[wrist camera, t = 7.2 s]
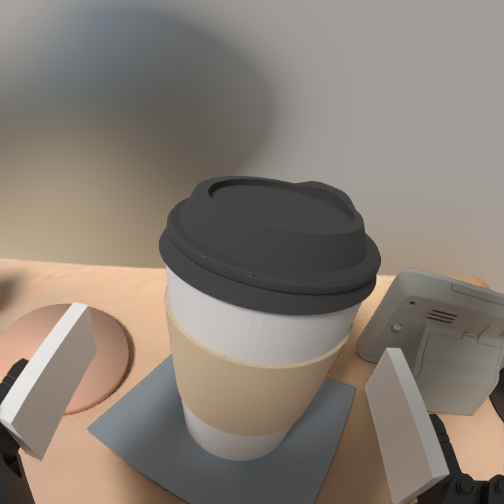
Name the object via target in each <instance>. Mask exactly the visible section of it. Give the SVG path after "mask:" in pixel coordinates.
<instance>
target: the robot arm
mask: <svg viewBox="0 0 504 504" xmlns="http://www.w3.org/2000/svg"><path fill="white" fill-rule="evenodd" d="M97 351H98V349H97V345H96V341H95V336H94V332H93V327H92V322H91V317H90V312H89V306H88V305H85V304H81V303H77V302H74V303H73V304H72V305H71V306H70V307H69V309H68V310H67V311H66V313H65V314H64V315H63V316H62V318H61V319H60V320H59V322H58V323H57V324H56V325H55V327H54V328H53V329H52V331H51V332H50V333H49V335H48V336H47V337H46V339H45V340H44V341H43V343H42V344H41V346H40V347H39V348H38V350H37V351H36V352H35V354H34V355H33V357H32V358H31V360H30V361H29V360H27V359H24V358H22V359H20V360H19V361H18V362H16V363H15V364H13V366H12V367H11V368H10V370H9V371H8V373H7V376H5V377H4V378H3V380H2V383H0V504H35V502H34V499H33V496H32V493H31V490H30V487H29V484H28V481H27V478H26V475H25V472H24V468H23V465H22V461H21V457H20V455H19V453H18V450H19V448H20V447H21V448H22V449H23V450H24V451H25V453H27V454H28V455H30V456H32V457H34V458H36V459H38V460H40V461H42V459H43V457H44V454H45V452H46V450H47V448H48V446H49V443H50V441H51V439H52V437H53V435H54V433H55V431H56V429H57V427H58V424H59V422H60V420H61V418H62V416H63V414H64V412H65V410H66V408H67V406H68V404H69V402H70V400H71V398H72V397H73V395H74V393H75V391H76V389H77V387H78V385H79V383H80V381H81V380H82V378H83V376H84V374H85V372H86V370H87V368H88V367H89V365H90V363H91V361H92V359H93V358H94V356H95V354H96V352H97ZM364 389H365V392H366V396H367V399H368V403H369V407H370V411H371V414H372V418H373V422H374V426H375V430H376V434H377V438H378V442H379V446H380V450H381V455H382V459H383V463H384V468H385V472H386V477H387V481H388V486H389V491H390V496H391V501H392V504H405V503H409V502H410V501H412V500H413V499H415V498H417V500H418V502H417V503H416V504H504V476H503V475H501V474H500V475H496V476H494V477H493V478H491V479H490V480H489V481H475V480H473V479H472V477H471V476H469V475H468V474H464V473H462V472H461V470H460V467H459V464H458V462H457V459H456V456H455V453H454V450H453V448H452V445H451V442H449V441H450V440H449V437H448V434H446V433H447V432H446V429H445V427H444V424H443V422H442V421H441V420H440V418H439V417H438V416H437V415H436V414H428V412H427V409H426V407H425V404H424V402H423V399H422V397H421V394H420V392H419V389H418V387H417V385H416V382H415V380H414V378H413V375H412V373H411V371H410V368H409V366H408V364H407V362H406V359H405V357H404V355H403V353H402V351H401V348H386V349H385V351H384V353H383V355H382V357H381V359H380V360H379V362H378V364H377V366H376V368H375V369H374V371H373V373H372V375H371V376H370V378H369V380H368V382H367V383H366V385H365V387H364ZM490 397H491V400H492V402H493V404H494V406H495V408H496V410H497V412H498V413H499V415H500V417H501V418H502V419H503V421H504V367H503V368H502V369H501V370H500V371H499V381H498V383H497V385H496V387H495V388H494V390H493V391H492V393H491V394H490Z"/></svg>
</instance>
